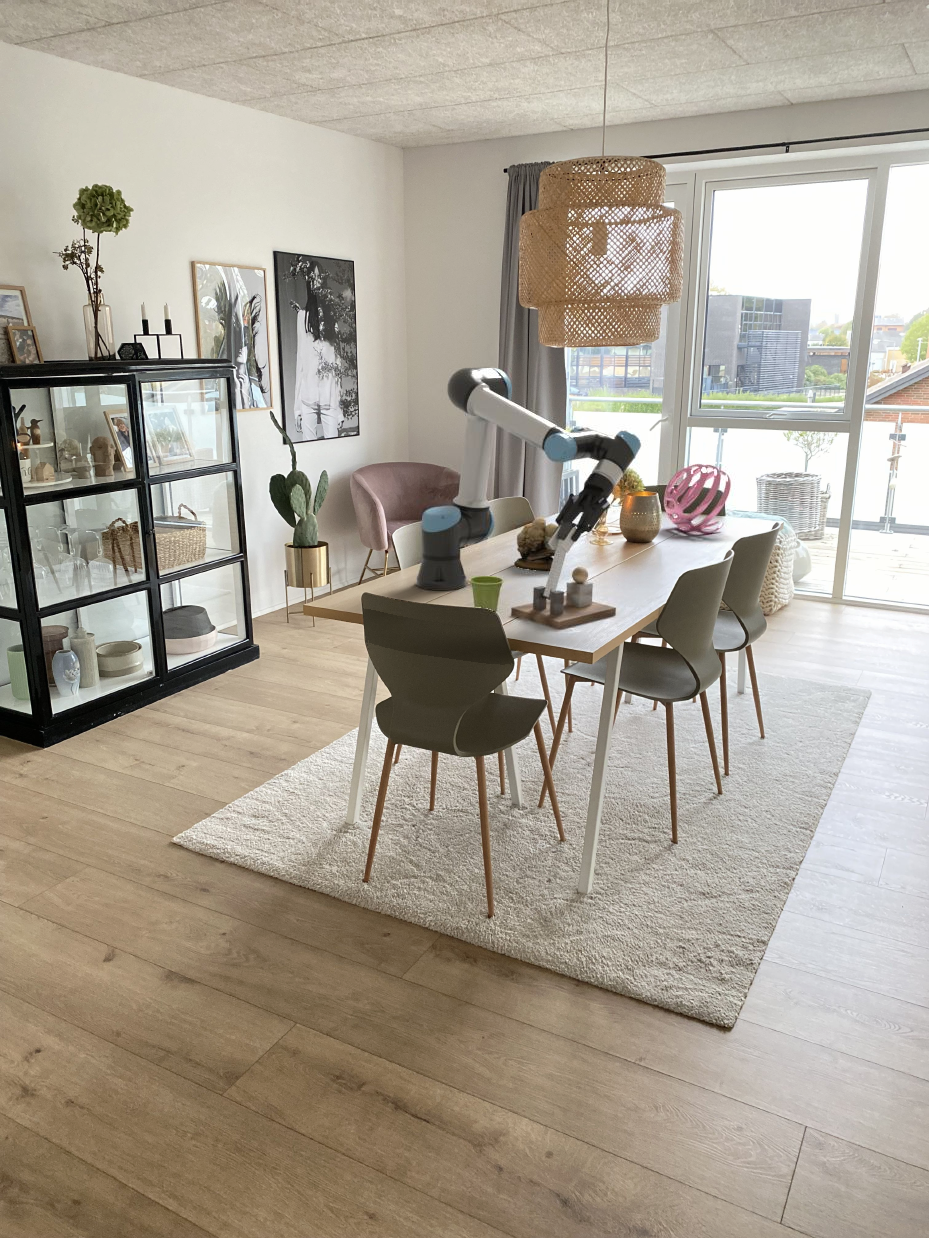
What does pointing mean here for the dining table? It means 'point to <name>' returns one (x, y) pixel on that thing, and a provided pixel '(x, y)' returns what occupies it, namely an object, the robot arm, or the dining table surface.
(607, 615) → the base
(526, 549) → the brown lumpy mound
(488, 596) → the plant pot
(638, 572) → the dining table surface
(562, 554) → the lever
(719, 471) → the spiral basket
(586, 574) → the wooden ball
